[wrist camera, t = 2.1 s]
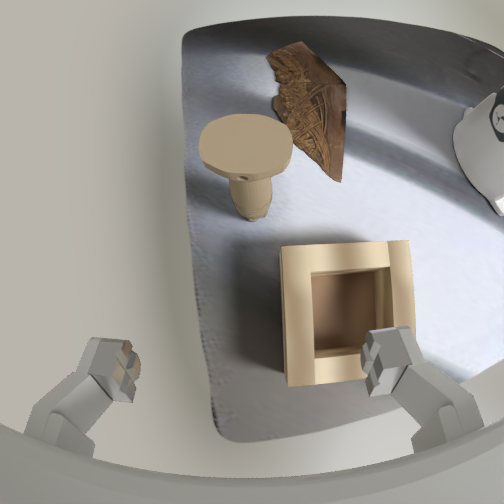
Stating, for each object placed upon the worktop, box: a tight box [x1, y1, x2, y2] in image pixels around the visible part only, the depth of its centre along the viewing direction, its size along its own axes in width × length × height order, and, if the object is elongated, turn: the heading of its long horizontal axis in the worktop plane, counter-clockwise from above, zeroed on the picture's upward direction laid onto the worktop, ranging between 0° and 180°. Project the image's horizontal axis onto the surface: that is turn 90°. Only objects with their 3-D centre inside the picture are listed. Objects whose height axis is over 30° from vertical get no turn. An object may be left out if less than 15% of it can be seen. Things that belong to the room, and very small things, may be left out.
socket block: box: [279, 240, 416, 387], centre depth 29 cm, size 13×13×6 cm
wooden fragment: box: [266, 41, 346, 183], centre depth 36 cm, size 26×11×1 cm, turn 4°
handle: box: [199, 114, 293, 222], centre depth 27 cm, size 5×6×15 cm
